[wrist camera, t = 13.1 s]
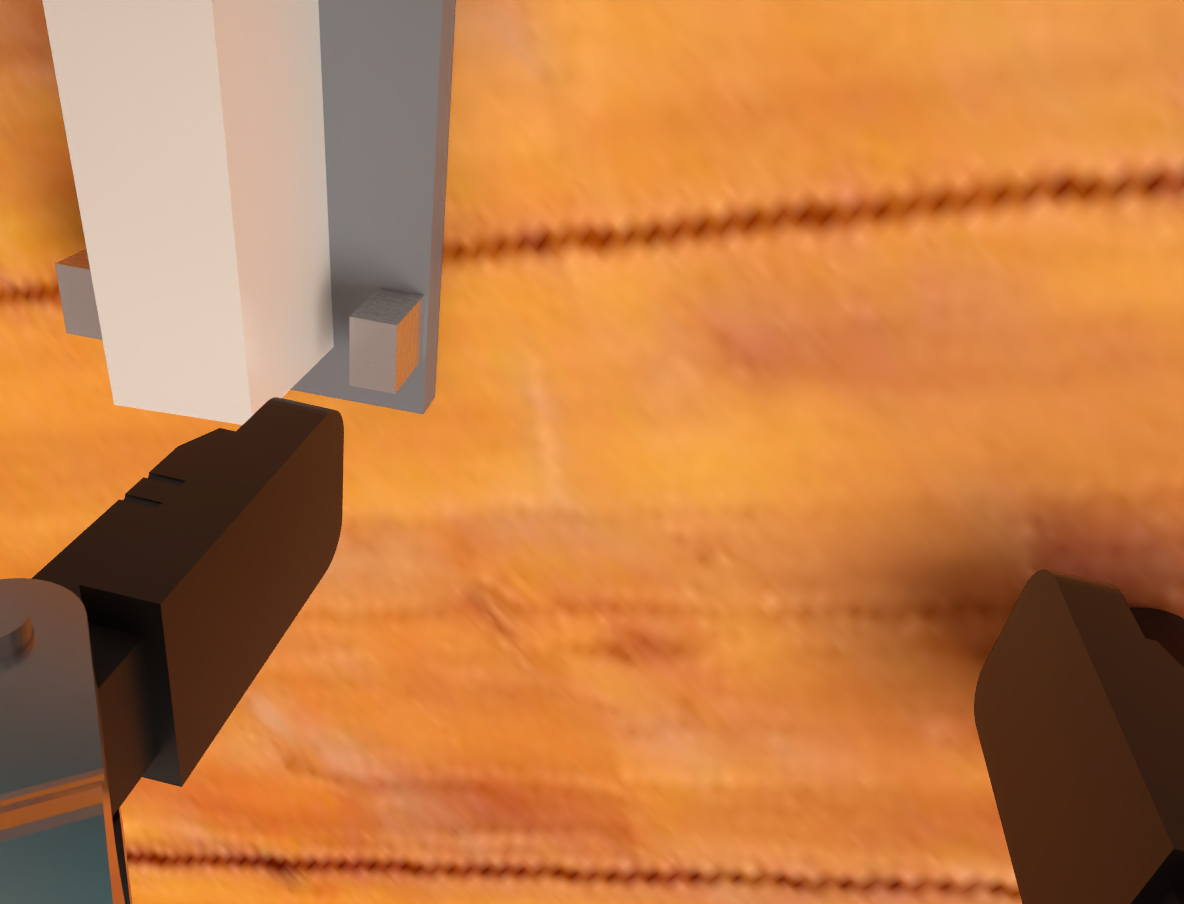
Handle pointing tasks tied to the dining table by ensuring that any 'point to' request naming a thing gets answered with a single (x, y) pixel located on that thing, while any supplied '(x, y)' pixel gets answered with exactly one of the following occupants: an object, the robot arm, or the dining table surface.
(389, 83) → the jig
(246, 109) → the white block with peg
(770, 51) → the dining table surface
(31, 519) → the dining table surface
